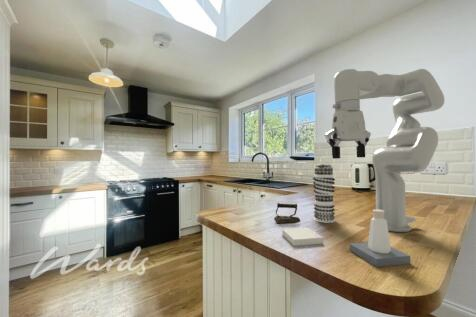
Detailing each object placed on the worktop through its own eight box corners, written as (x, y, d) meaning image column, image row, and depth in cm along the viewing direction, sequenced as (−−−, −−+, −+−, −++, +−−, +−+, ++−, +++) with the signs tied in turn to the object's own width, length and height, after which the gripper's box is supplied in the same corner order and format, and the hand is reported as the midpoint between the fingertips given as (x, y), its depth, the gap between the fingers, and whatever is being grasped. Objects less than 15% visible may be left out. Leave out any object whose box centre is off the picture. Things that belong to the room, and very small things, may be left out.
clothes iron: (272, 220, 97) (276, 198, 98) (296, 226, 97) (300, 204, 98) (275, 223, 90) (280, 200, 91) (301, 229, 90) (305, 206, 91)
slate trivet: (378, 247, 65) (378, 241, 65) (410, 263, 55) (410, 255, 55) (349, 250, 63) (349, 243, 63) (376, 267, 54) (376, 259, 54)
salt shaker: (395, 252, 57) (395, 211, 57) (381, 255, 56) (380, 213, 56) (376, 244, 62) (376, 207, 63) (363, 247, 61) (362, 208, 61)
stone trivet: (308, 233, 78) (308, 227, 78) (323, 243, 69) (323, 237, 69) (282, 234, 77) (282, 229, 77) (293, 246, 67) (293, 239, 67)
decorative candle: (318, 223, 90) (317, 164, 90) (310, 217, 99) (309, 164, 99) (339, 223, 90) (338, 164, 90) (329, 217, 99) (329, 163, 99)
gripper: (331, 104, 67) (333, 158, 67) (377, 105, 70) (379, 156, 71) (318, 110, 74) (319, 158, 74) (360, 110, 78) (361, 157, 78)
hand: (348, 157), depth 73 cm, fingers open, 9 cm apart
